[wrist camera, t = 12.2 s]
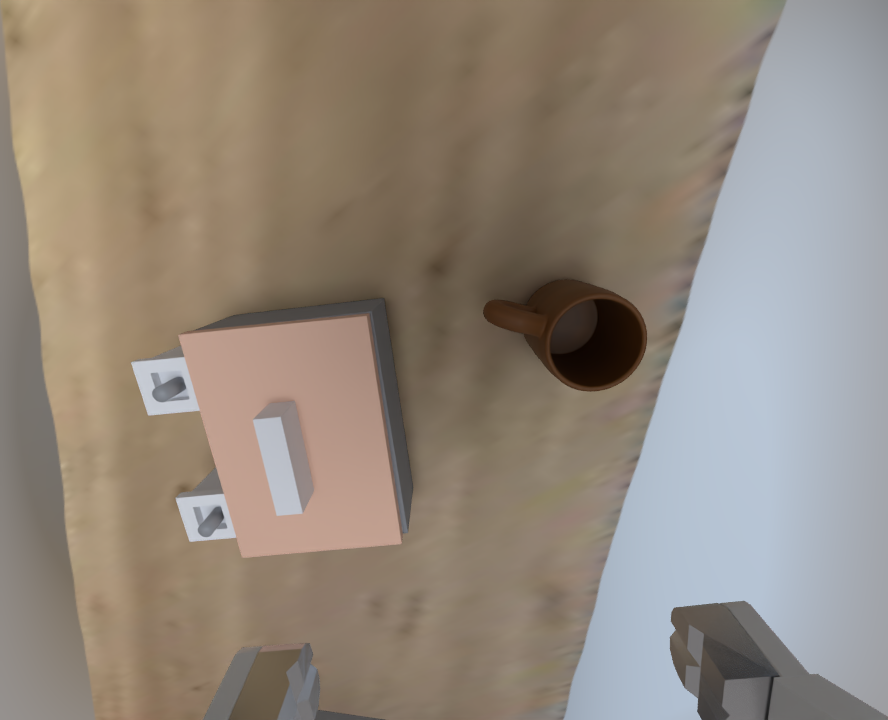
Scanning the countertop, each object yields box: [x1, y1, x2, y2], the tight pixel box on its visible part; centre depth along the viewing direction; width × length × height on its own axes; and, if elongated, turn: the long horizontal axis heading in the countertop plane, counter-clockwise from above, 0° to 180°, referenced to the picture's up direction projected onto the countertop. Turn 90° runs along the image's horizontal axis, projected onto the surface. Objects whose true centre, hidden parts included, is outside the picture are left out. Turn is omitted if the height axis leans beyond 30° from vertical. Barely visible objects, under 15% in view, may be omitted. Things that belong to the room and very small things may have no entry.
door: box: [131, 313, 403, 558], centre depth 33 cm, size 20×18×4 cm
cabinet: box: [152, 298, 413, 537], centre depth 37 cm, size 20×18×9 cm
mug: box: [483, 279, 647, 391], centre depth 34 cm, size 12×8×9 cm, turn 75°
